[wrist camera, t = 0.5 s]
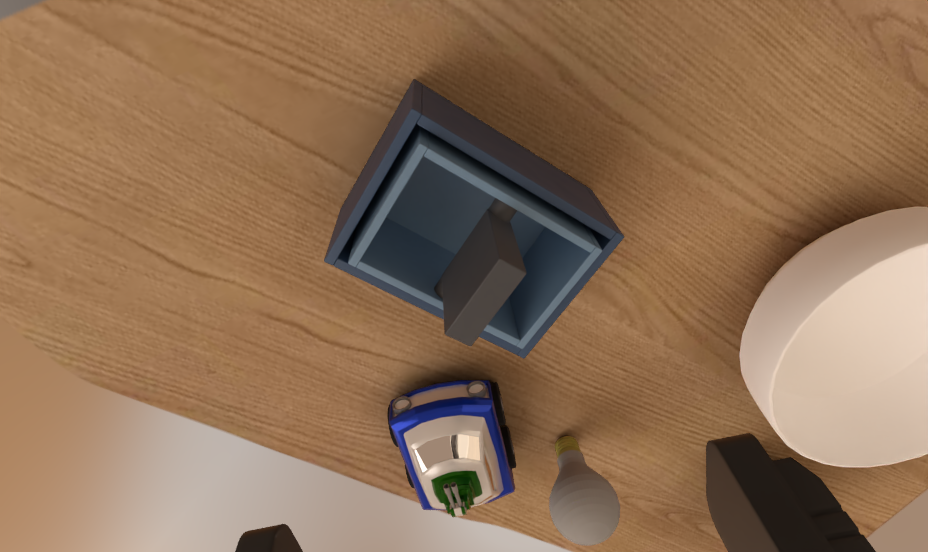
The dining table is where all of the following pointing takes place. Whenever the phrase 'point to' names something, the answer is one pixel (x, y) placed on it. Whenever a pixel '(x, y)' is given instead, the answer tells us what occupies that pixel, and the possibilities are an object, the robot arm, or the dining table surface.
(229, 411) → the dining table surface
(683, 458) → the dining table surface
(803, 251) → the bowl
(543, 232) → the light blue bin
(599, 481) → the light bulb
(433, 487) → the toy car
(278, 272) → the dining table surface
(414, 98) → the dark blue bin
